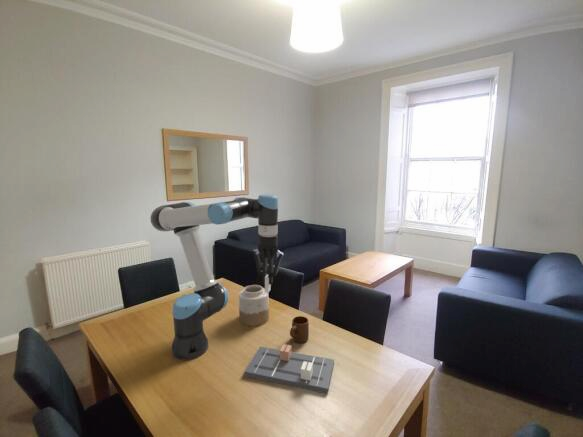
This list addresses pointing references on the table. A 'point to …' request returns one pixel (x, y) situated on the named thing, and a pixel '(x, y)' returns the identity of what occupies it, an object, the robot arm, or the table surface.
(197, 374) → the table surface
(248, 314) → the vase
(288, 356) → the fader
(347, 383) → the table surface
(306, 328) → the mug
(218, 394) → the table surface
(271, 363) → the console
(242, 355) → the table surface
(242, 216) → the robot arm
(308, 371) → the block
